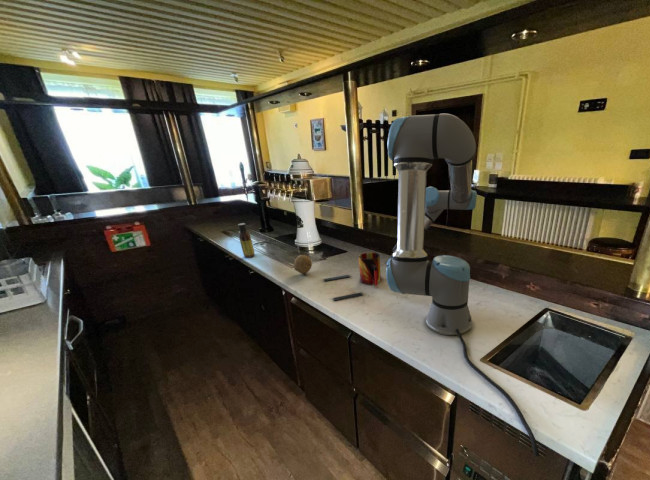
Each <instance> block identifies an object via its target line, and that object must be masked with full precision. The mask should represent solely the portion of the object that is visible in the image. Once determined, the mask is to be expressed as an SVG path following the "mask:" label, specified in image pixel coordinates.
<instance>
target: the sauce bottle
mask: <svg viewBox="0 0 650 480" xmlns="http://www.w3.org/2000/svg"><path fill="white" fill-rule="evenodd" d="M237 227H238V229H239V237H238V240H239V242H240V247H241V250H242V254H243V256H244V258H253V257H255V255H256V254H255V249H254V245H253V241H252V237H251V234H250V233H249V232H248V230H247V226H246V223H245V222H242V223H238V224H237Z"/></svg>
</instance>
